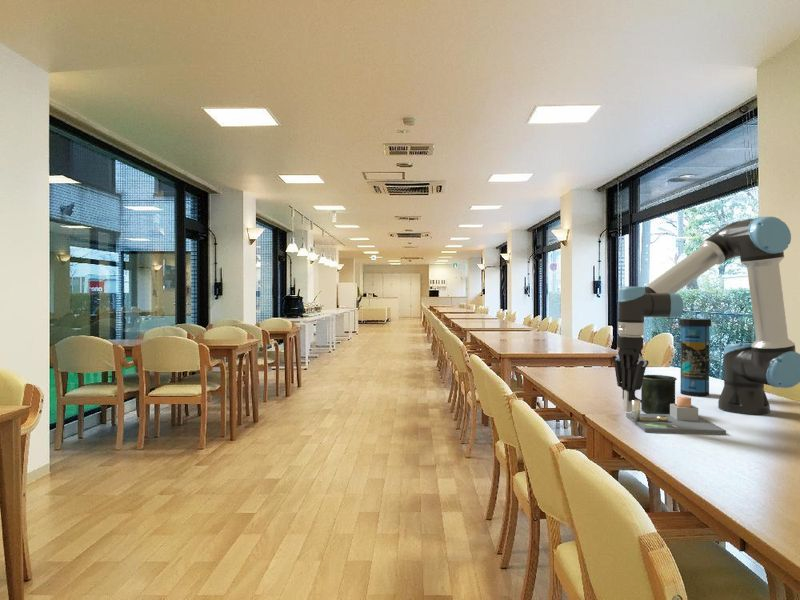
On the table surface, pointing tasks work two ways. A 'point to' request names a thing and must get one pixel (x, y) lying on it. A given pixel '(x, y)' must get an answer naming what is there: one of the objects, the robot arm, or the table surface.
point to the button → (684, 402)
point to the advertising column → (695, 356)
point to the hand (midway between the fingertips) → (628, 411)
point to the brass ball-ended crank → (637, 417)
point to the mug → (657, 394)
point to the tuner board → (678, 422)
